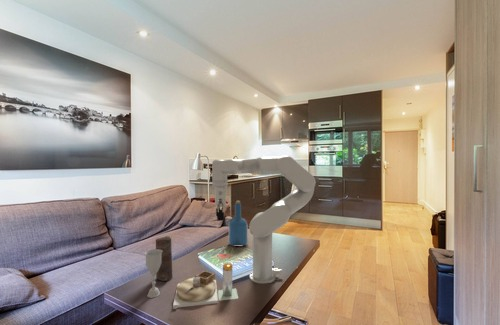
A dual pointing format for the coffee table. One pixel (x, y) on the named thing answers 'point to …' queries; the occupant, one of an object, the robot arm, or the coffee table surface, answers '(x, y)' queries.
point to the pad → (233, 296)
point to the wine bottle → (238, 228)
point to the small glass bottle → (227, 279)
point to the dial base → (182, 303)
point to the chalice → (153, 269)
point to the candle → (165, 258)
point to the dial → (197, 287)
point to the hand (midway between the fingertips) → (219, 218)
